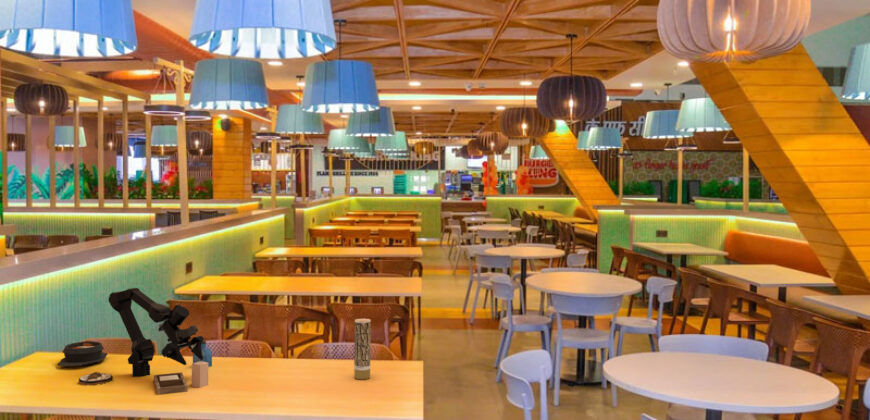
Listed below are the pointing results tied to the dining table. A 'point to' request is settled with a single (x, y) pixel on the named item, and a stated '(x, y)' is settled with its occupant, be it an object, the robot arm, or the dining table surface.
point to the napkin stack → (168, 377)
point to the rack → (170, 384)
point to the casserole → (82, 354)
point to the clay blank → (200, 374)
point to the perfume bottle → (204, 354)
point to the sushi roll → (95, 378)
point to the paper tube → (362, 349)
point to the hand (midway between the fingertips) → (194, 362)
